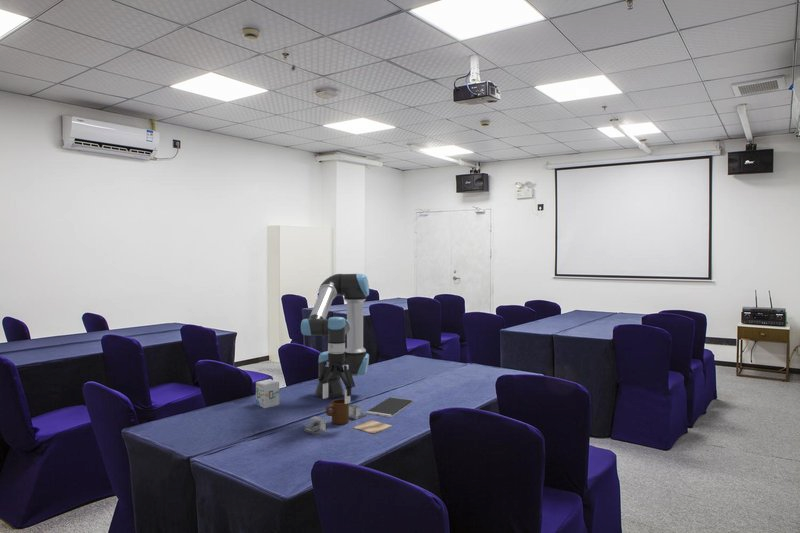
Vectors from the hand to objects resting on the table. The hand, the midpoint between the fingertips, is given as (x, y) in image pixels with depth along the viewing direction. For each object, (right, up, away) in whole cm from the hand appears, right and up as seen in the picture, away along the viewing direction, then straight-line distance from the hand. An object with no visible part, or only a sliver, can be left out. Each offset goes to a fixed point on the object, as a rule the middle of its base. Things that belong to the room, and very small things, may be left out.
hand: (336, 400), depth 222 cm
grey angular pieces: (0, -10, 0) cm, 10 cm away
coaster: (+16, -10, -5) cm, 20 cm away
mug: (0, -11, 0) cm, 11 cm away
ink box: (-38, -10, +28) cm, 48 cm away
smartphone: (+23, -11, +24) cm, 35 cm away
